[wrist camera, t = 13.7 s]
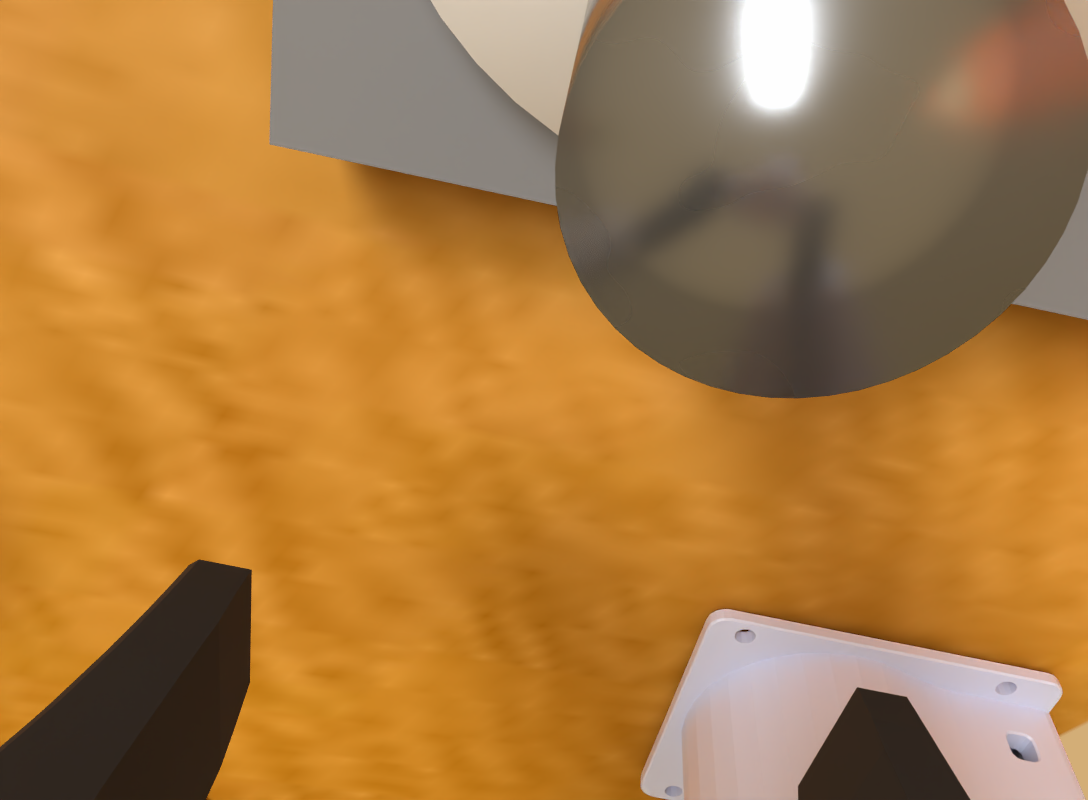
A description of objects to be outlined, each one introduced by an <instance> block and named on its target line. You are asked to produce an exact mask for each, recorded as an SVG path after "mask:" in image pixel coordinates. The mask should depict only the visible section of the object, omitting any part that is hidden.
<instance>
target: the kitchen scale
mask: <svg viewBox="0 0 1088 800" xmlns="http://www.w3.org/2000/svg"><path fill="white" fill-rule="evenodd" d="M1064 1H1065V4H1066V6H1067V8H1068V10H1069V12H1070V14H1071V16H1072V18H1073V20H1074V22H1075V24H1076V26H1077V28H1078V30H1079V32H1080V35H1081V39H1082V42H1083V45H1084V49H1085V52H1086V55H1087V59H1088V0H1064ZM587 3H588V0H273V28H272V68H271V108H270V144H271V145H275V146H280V147H285V148H289V149H294V150H299V151H303V152H308V153H313V154H317V155H322V156H327V157H331V158H336V159H341V160H345V161H350V162H355V163H359V164H364V165H369V166H373V167H378V168H383V169H387V170H392V171H397V172H401V173H406V174H411V175H415V176H420V177H425V178H429V179H434V180H439V181H443V182H448V183H453V184H457V185H462V186H466V187H471V188H476V189H480V190H485V191H490V192H494V193H499V194H504V195H508V196H513V197H518V198H522V199H527V200H532V201H536V202H541V203H546V204H550V205H555V206H557V203H556V193H555V161H556V152H557V144H558V135H559V130H560V125H561V121H562V116H563V112H564V107H565V102H566V98H567V93H568V89H569V84H570V80H571V75H572V71H573V66H574V62H575V57H576V53H577V48H578V44H579V39H580V35H581V30H582V26H583V21H584V17H585V12H586V7H587ZM1012 304H1016V305H1021V306H1026V307H1030V308H1035V309H1040V310H1044V311H1049V312H1053V313H1058V314H1063V315H1067V316H1072V317H1077V318H1081V319H1086V320H1088V170H1087V174H1086V177H1085V180H1084V183H1083V187H1082V190H1081V193H1080V197H1079V200H1078V203H1077V205H1076V207H1075V209H1074V212H1073V214H1072V216H1071V218H1070V220H1069V223H1068V225H1067V227H1066V229H1065V231H1064V234H1063V235H1062V237H1061V239H1060V240H1059V242H1058V243H1057V245H1056V247H1055V248H1054V250H1053V252H1052V253H1051V255H1050V257H1049V258H1048V260H1047V262H1046V263H1045V264H1044V266H1043V267H1042V268H1041V270H1040V271H1039V272H1038V273H1037V275H1036V276H1035V277H1034V279H1033V280H1032V281H1031V282H1030V284H1029V285H1028V286H1027V288H1026V289H1025V290H1024V291H1023V292H1022V293H1021V294H1020V295H1019V296H1018V297H1017V298H1016V299H1015V300H1014V301H1013V302H1012Z"/></svg>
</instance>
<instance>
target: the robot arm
mask: <svg viewBox="0 0 1088 800" xmlns="http://www.w3.org/2000/svg"><path fill="white" fill-rule="evenodd" d="M251 572H252V570H250V569H245V568H240V567H235V566H230V565H224V564H219V563H214V562H209V561H204V560H197V561H196V562H194V563H192V564H190V565H189V566H188V567H187V568H186V569H185V570H184V571H183V572H182V574H181V575H180V576H179V577H178V578H177V579H176V580H175V581H174V582H173V583H172V584H171V586H170V587H169V588H168V589H167V590H166V591H165V592H164V593H163V594H162V595H161V596H160V597H159V598H158V599H157V600H156V601H155V603H154V604H153V605H152V606H151V607H150V608H149V609H148V610H147V611H146V612H145V613H144V614H143V615H142V616H141V617H140V618H139V619H138V620H137V621H136V622H135V623H134V624H133V625H132V626H131V627H130V628H129V629H128V630H127V631H126V632H125V633H124V634H123V635H122V636H121V637H120V638H119V639H118V640H117V641H116V642H115V643H114V644H113V645H112V646H111V647H110V648H109V649H108V650H107V651H106V652H105V653H104V654H103V655H102V656H101V657H100V658H99V659H97V660H96V661H95V662H94V663H93V664H92V665H91V666H90V667H89V668H88V669H87V670H86V671H85V672H84V673H83V674H81V675H80V676H79V677H78V678H77V679H76V680H75V681H74V682H73V683H72V684H71V685H70V686H69V687H68V688H67V689H65V690H64V691H63V692H62V693H61V694H60V695H59V696H58V697H57V698H56V699H55V700H54V701H53V702H52V703H50V704H49V705H48V706H47V707H46V708H45V709H44V710H43V711H42V712H40V713H39V714H38V715H37V716H36V717H35V718H34V719H32V720H31V721H30V722H29V723H28V724H27V725H25V726H24V727H23V728H22V729H21V730H20V731H18V732H17V733H16V734H15V735H14V736H13V737H11V738H10V739H9V740H8V741H7V742H6V743H4V744H3V745H2V746H1V747H0V800H206V798H207V796H208V794H209V791H210V789H211V787H212V785H213V783H214V780H215V778H216V776H217V774H218V772H219V770H220V767H221V765H222V762H223V759H224V756H225V753H226V751H227V748H228V745H229V742H230V739H231V736H232V734H233V731H234V728H235V725H236V722H237V719H238V716H239V713H240V710H241V707H242V704H243V701H244V698H245V695H246V692H247V689H248V686H249V683H250V637H251ZM743 629H748V630H749V631H747V632H740V630H743ZM1062 694H1063V692H1062V688H1061V685H1060V683H1059V681H1058V679H1057V678H1056V677H1055V676H1054V675H1052V674H1049V673H1045V672H1040V671H1035V670H1030V669H1025V668H1020V667H1016V666H1011V665H1006V664H1001V663H996V662H991V661H986V660H981V659H976V658H971V657H966V656H961V655H956V654H951V653H946V652H941V651H936V650H931V649H926V648H921V647H916V646H911V645H906V644H901V643H896V642H891V641H886V640H881V639H876V638H871V637H866V636H861V635H856V634H851V633H846V632H841V631H836V630H831V629H826V628H821V627H816V626H811V625H806V624H801V623H796V622H791V621H786V620H781V619H776V618H771V617H766V616H761V615H756V614H751V613H746V612H741V611H736V610H731V609H721V610H717V611H715V612H713V613H711V614H710V615H709V616H708V618H707V619H706V622H705V624H704V626H703V629H702V631H701V633H700V636H699V638H698V641H697V643H696V645H695V648H694V650H693V652H692V655H691V657H690V660H689V662H688V664H687V667H686V669H685V671H684V674H683V676H682V679H681V681H680V683H679V686H678V688H677V690H676V693H675V695H674V698H673V700H672V702H671V705H670V707H669V709H668V712H667V714H666V717H665V719H664V721H663V724H662V726H661V728H660V731H659V733H658V736H657V738H656V740H655V743H654V745H653V747H652V750H651V752H650V755H649V757H648V759H647V762H646V764H645V766H644V769H643V771H642V774H641V789H642V791H643V792H645V793H646V794H647V795H650V796H653V797H657V798H663V799H668V800H1086V799H1085V797H1084V794H1083V792H1082V790H1081V787H1080V785H1079V782H1078V780H1077V778H1076V776H1075V773H1074V771H1073V768H1072V766H1071V764H1070V761H1069V759H1068V756H1067V754H1066V752H1065V749H1064V747H1063V745H1062V743H1061V740H1060V738H1059V735H1058V733H1057V730H1056V728H1055V726H1054V723H1053V721H1052V719H1051V716H1050V714H1049V712H1050V711H1051V709H1052V708H1053V707H1054V706H1055V704H1056V703H1057V702H1058V701H1059V699H1060V698H1061V696H1062Z"/></svg>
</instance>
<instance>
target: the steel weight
mask: <svg viewBox="0 0 1088 800" xmlns="http://www.w3.org/2000/svg"><path fill="white" fill-rule="evenodd" d="M1087 170H1088V59H1087V55H1086V52H1085V49H1084V45H1083V42H1082V39H1081V35H1080V32H1079V30H1078V28H1077V26H1076V24H1075V22H1074V20H1073V18H1072V16H1071V14H1070V12H1069V10H1068V8H1067V6H1066V4H1065V1H1064V0H588V3H587V7H586V12H585V17H584V21H583V26H582V30H581V35H580V39H579V44H578V48H577V53H576V57H575V62H574V66H573V71H572V75H571V80H570V84H569V89H568V93H567V98H566V102H565V107H564V112H563V116H562V121H561V125H560V130H559V135H558V144H557V152H556V161H555V193H556V203H557V209H558V216H559V222H560V228H561V231H562V235H563V238H564V241H565V244H566V248H567V251H568V254H569V257H570V259H571V261H572V264H573V266H574V268H575V270H576V272H577V274H578V277H579V279H580V281H581V283H582V284H583V286H584V288H585V289H586V291H587V292H588V294H589V295H590V297H591V299H592V300H593V302H594V303H595V305H596V306H597V308H598V309H599V310H600V311H601V312H602V313H603V315H604V316H605V317H606V318H607V319H608V321H609V322H610V323H611V324H612V325H613V326H614V328H615V329H616V330H618V331H619V332H620V333H621V334H622V335H623V336H624V337H625V338H626V339H628V340H629V341H630V342H631V343H632V344H633V345H634V346H635V347H637V348H638V349H639V350H641V351H642V352H644V353H645V354H647V355H648V356H650V357H651V358H652V359H654V360H655V361H657V362H658V363H660V364H662V365H664V366H666V367H667V368H669V369H671V370H673V371H675V372H677V373H679V374H681V375H683V376H685V377H687V378H690V379H693V380H695V381H698V382H701V383H703V384H706V385H709V386H711V387H715V388H719V389H723V390H727V391H731V392H735V393H739V394H746V395H754V396H761V397H770V398H807V397H820V396H830V395H836V394H841V393H847V392H852V391H857V390H861V389H865V388H868V387H872V386H875V385H878V384H882V383H885V382H889V381H891V380H894V379H896V378H899V377H901V376H904V375H906V374H909V373H911V372H913V371H916V370H918V369H920V368H922V367H924V366H926V365H928V364H930V363H932V362H934V361H936V360H937V359H939V358H941V357H943V356H945V355H947V354H949V353H950V352H952V351H953V350H955V349H956V348H958V347H959V346H961V345H962V344H964V343H965V342H967V341H968V340H969V339H971V338H972V337H974V336H975V335H977V334H978V333H979V332H980V331H981V330H983V329H984V328H985V327H986V326H988V325H989V324H990V323H991V322H992V321H994V320H995V319H996V318H997V317H998V316H1000V315H1001V314H1002V313H1003V312H1004V311H1005V310H1006V309H1007V308H1008V307H1009V306H1010V305H1011V304H1012V302H1013V301H1014V300H1015V299H1016V298H1017V297H1018V296H1019V295H1020V294H1021V293H1022V292H1023V291H1024V290H1025V289H1026V288H1027V286H1028V285H1029V284H1030V282H1031V281H1032V280H1033V279H1034V277H1035V276H1036V275H1037V273H1038V272H1039V271H1040V270H1041V268H1042V267H1043V266H1044V264H1045V263H1046V262H1047V260H1048V258H1049V257H1050V255H1051V253H1052V252H1053V250H1054V248H1055V247H1056V245H1057V243H1058V242H1059V240H1060V239H1061V237H1062V235H1063V234H1064V231H1065V229H1066V227H1067V225H1068V223H1069V220H1070V218H1071V216H1072V214H1073V212H1074V209H1075V207H1076V205H1077V203H1078V200H1079V197H1080V193H1081V190H1082V187H1083V183H1084V180H1085V177H1086V174H1087Z"/></svg>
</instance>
